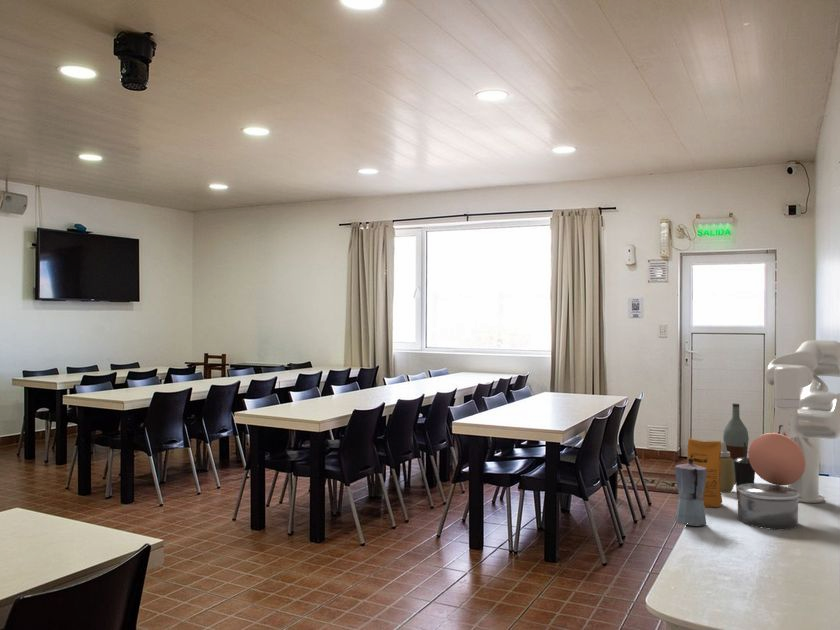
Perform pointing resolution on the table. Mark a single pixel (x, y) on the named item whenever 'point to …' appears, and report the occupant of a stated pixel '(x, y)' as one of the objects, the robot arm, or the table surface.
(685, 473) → the moka pot
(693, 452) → the coffee package
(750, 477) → the drinking cup
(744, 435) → the green wine bottle
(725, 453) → the squeeze bottle
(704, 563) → the table surface
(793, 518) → the cooker pot
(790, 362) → the robot arm
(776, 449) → the lid
